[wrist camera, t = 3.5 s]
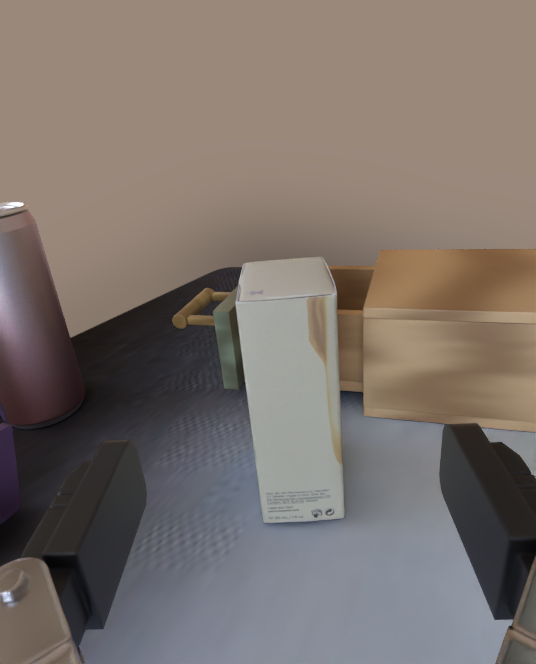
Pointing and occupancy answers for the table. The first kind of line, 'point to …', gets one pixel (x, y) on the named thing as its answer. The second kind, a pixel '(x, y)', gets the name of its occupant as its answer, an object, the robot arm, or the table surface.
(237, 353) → the drawer
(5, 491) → the purple figurine
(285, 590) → the table surface
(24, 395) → the beverage can
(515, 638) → the robot arm
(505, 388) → the cabinet
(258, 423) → the cosmetic box
